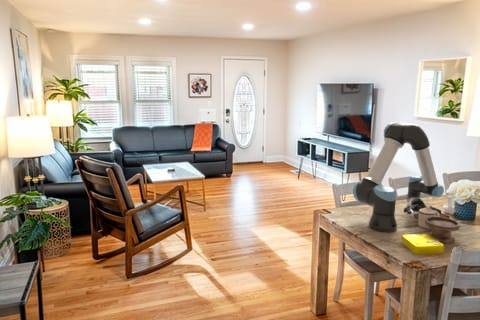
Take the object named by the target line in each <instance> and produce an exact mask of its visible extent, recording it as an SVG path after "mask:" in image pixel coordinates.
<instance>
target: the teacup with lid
mask: <svg viewBox="0 0 480 320" xmlns="http://www.w3.org/2000/svg"><path fill="white" fill-rule="evenodd" d="M425 206H426V208H422V209H420V210H419V212H416V211H414V216H413V217H412V219H413V220H414V221H416V222H417V225H418V226H419V227H420V228H422V229H423V228H424V229H431V228H430V227H428V226H427V225H426V224H425V219H426V218H427V217H431V216H436V211H435V210H432V209H431V208H430V207H429V206H430V205H429V206H428V205H425ZM415 215H418V219H417V218H416V217H415Z"/></svg>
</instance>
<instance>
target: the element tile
mask: <svg viewBox="0 0 480 320" xmlns="http://www.w3.org/2000/svg"><path fill="white" fill-rule="evenodd" d="M401 244H402V245H403V246H404V247H406V248H407V249H408V250H410V252H412V253H413V254H416V255H434V254H444V250H445V243H441V242H439V241H438V240H436V239H435V238H434V237H432V236H431V235H429V234H427V233H419V234H418V233H417V234H414V233H412V234H402V235H401Z"/></svg>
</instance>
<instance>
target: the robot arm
mask: <svg viewBox="0 0 480 320" xmlns="http://www.w3.org/2000/svg"><path fill="white" fill-rule="evenodd" d="M383 137H384V138H383V141H384V144H383V145H382V148H381V150H380V151H379V153H378V155H377V157H376V159H375V161H374V163H373V165H372V166H371V169H370V171H369V172H368V173H367V176H366V177H363V178H362V180H361V181H358V182H356V183H355V184H354V185H353V188H352V194H353V198H354V199H355V200H356V201H357V202H360V203H361V204H366V205H368V206H370V207H372V214H371V217H370V219H369V221H368V227H369V229H372V230H373V231H376V232H381V233H392V232H396V231H397V229H398V224H397V220H396V216H395V213H396V205H397V204H396V202H397V192H396V189H394V187H390V186H388V185H383V184H381V183H382V182H383V180H384V177H385V175H386V174H387V172H388V170H389V169H390V166H391V164H392V162H393V160H394V159H395V157H396V155H397V153H398V151H399V149H402V148H403V147H404V146H405V144H409V145H410V147H411V149H412V150H413V151H414V154H415V157H416V160H417V165H418V167H419V170H420V175H421V176H420V175H410V176H409V177H408V183H407V184H408V187H407V194H406V196H405V200H406V203H407V204H406V206H404V208H403V213H406V214H407V215H410V217H411V218H413V216H414V217H415V214H414V213H415V212H418V213H419V210H420V209H422V208H426V206H427V205H426V204H425V202H424V201H423V199H421V195H422V194H425V195H428V196H431V197H435V198H441V197H443V195H444V192H445V188H444V186H443V185H440V184H439V183H438V178H437V175H436V172H435V167H434V163H433V159H432V156H431V152H430V148H429V147H430V145H431V143H430V141H429V138H428V135H427V134H426V132H425V130H423V129H422V127H420V126H419V125H417V124H414V123H409V122H408V123H406V122H405V123H404V122H400V121H395V122H394V121H393V122H389V123H388V124H387V125H386V126H385V127H384V130H383ZM429 207H430V208H431V209H432V210H435V211H436V216H439V217H441V216H440V215H441V214H442V210H441V209H439V208H437V207H435V206H432V205H429Z"/></svg>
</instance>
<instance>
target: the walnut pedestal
mask: <svg viewBox="0 0 480 320" xmlns="http://www.w3.org/2000/svg"><path fill="white" fill-rule="evenodd" d="M425 224H426V225H427V226H428V227H430V228H429V229H431V231H429V232H427V233H426V234H429V235H431V236H432V237H434V238H435V239H436V240H438V241H439V242H441V243H442V244H451V243H452V244H453V243H454V242H455V241H456V239H455V238H456V237H455V236H454V235H452V232H457V231H458V230H460V227H461V222H459V221H458V220H456V219H453V218H450V217H444V216H431V217H427V218H426V219H425Z"/></svg>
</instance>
